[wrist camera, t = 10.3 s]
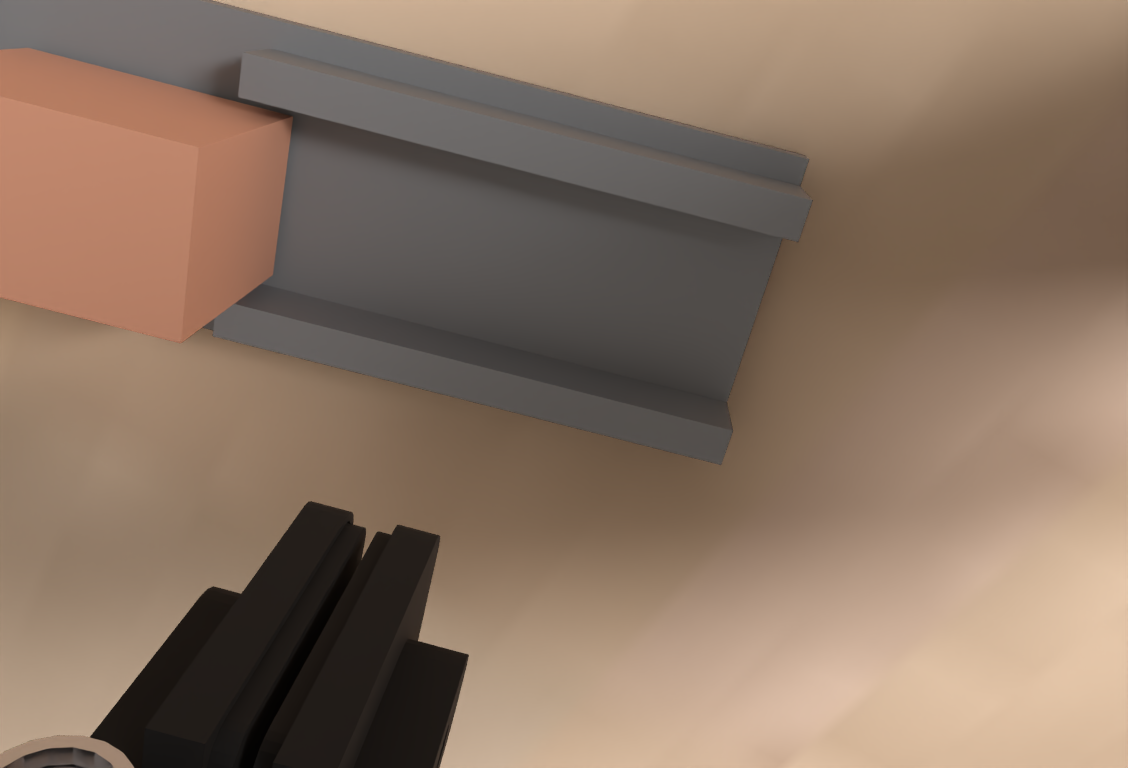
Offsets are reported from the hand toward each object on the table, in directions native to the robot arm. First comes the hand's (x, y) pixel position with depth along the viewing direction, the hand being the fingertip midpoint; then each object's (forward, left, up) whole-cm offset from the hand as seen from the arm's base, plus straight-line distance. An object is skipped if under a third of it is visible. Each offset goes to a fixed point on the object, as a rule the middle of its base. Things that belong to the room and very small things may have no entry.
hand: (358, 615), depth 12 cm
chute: (+7, 0, -20) cm, 21 cm away
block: (+12, 0, -19) cm, 22 cm away
